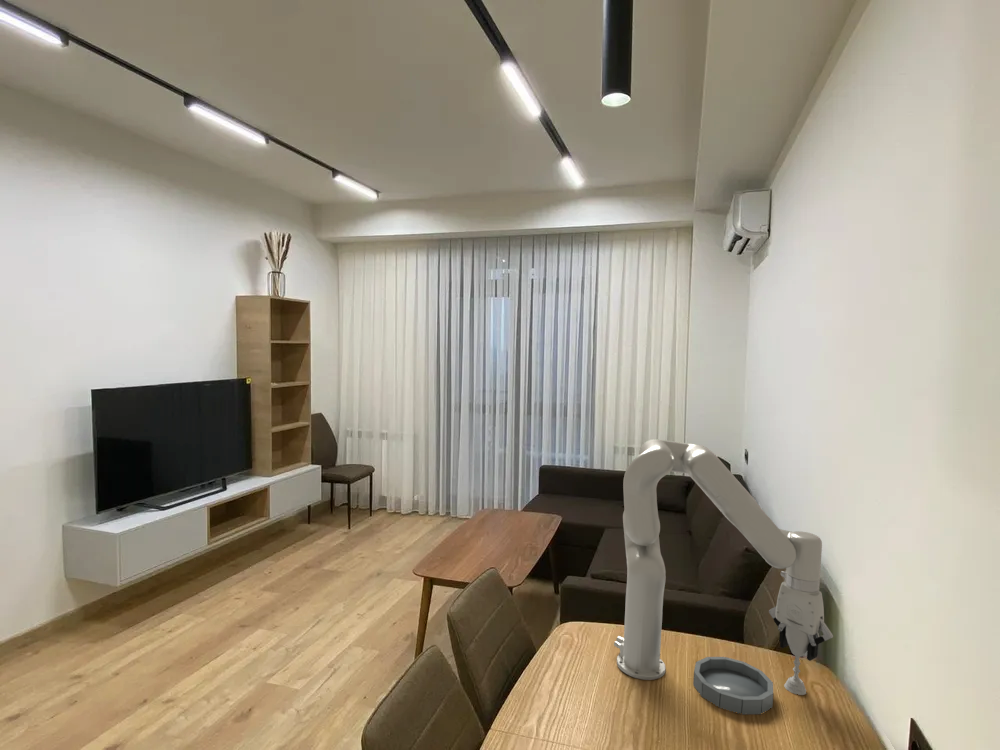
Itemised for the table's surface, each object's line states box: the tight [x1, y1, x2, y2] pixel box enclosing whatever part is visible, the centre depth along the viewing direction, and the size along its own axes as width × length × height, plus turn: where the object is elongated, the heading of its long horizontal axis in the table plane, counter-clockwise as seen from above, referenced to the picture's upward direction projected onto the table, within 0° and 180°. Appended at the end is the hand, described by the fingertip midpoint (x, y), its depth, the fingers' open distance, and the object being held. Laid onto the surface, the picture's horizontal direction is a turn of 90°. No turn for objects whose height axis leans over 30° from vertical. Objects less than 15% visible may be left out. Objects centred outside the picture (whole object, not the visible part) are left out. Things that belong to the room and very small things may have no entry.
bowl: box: [692, 656, 774, 715], centre depth 136 cm, size 18×18×4 cm
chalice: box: [783, 620, 810, 696], centre depth 138 cm, size 7×7×18 cm
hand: (797, 651), depth 138 cm, fingers closed on chalice, 6 cm apart
